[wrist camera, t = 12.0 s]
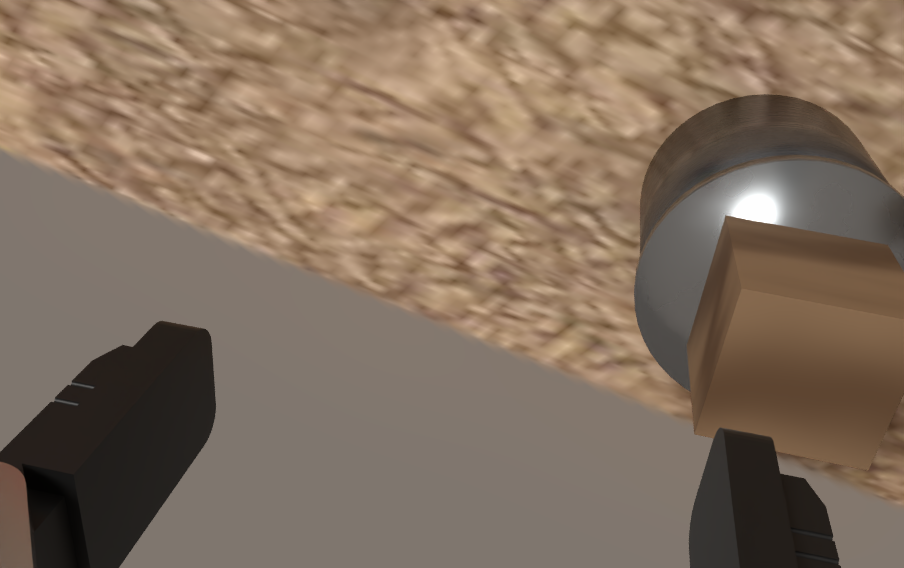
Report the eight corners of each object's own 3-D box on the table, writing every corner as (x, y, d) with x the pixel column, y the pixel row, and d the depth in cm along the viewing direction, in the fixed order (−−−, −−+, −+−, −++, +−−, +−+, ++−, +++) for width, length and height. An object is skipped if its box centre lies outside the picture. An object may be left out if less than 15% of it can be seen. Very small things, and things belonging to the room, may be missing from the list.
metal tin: (794, 38, 35) (837, 98, 28) (925, 225, 38) (998, 328, 30) (590, 182, 40) (578, 268, 32) (718, 340, 42) (736, 456, 35)
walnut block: (725, 215, 30) (741, 288, 25) (887, 244, 29) (935, 325, 25) (686, 345, 33) (694, 434, 28) (834, 375, 32) (868, 470, 27)
